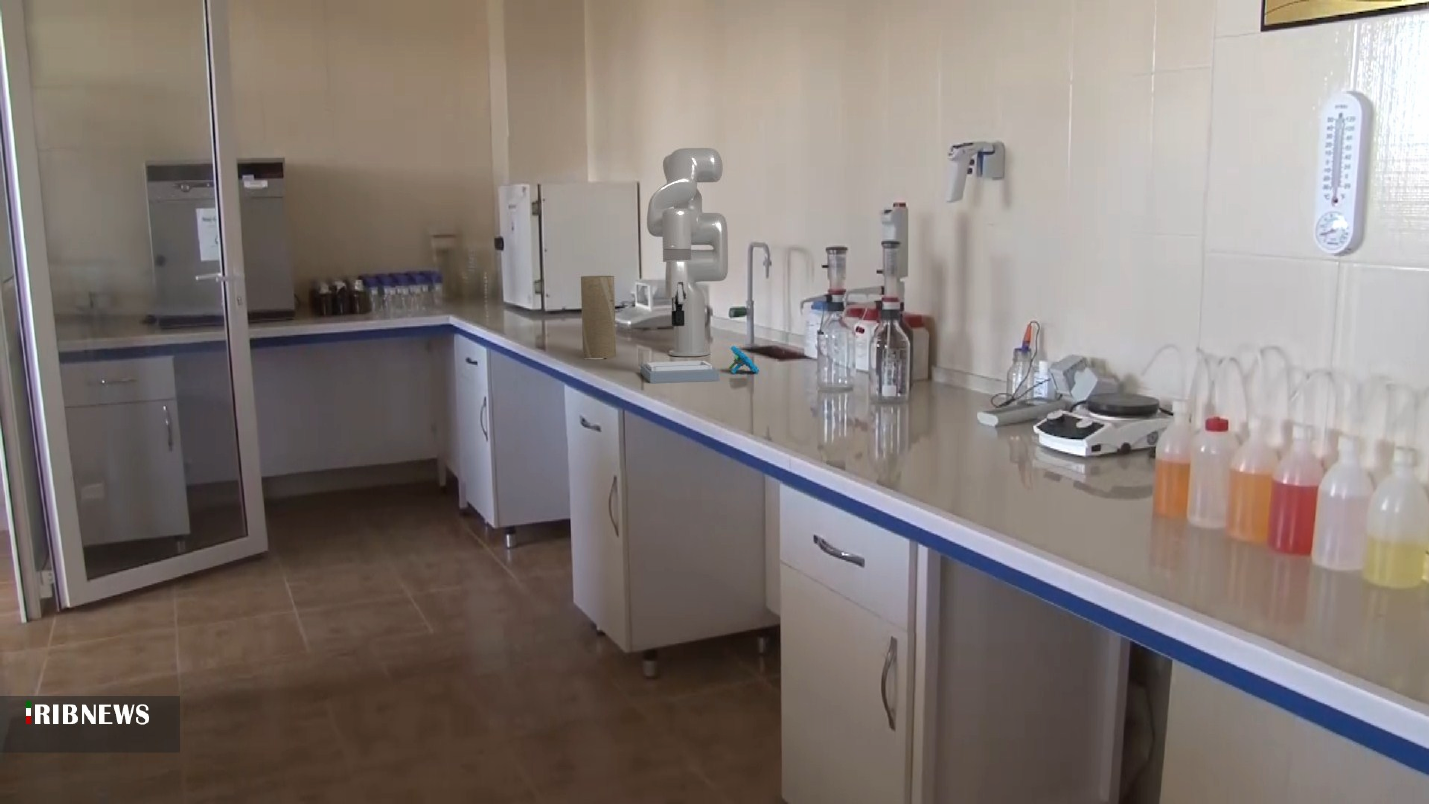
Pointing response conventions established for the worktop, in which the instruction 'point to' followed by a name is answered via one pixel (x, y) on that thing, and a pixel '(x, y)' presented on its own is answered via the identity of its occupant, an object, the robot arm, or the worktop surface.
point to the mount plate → (679, 371)
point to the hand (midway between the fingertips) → (678, 325)
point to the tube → (598, 316)
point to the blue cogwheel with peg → (741, 361)
